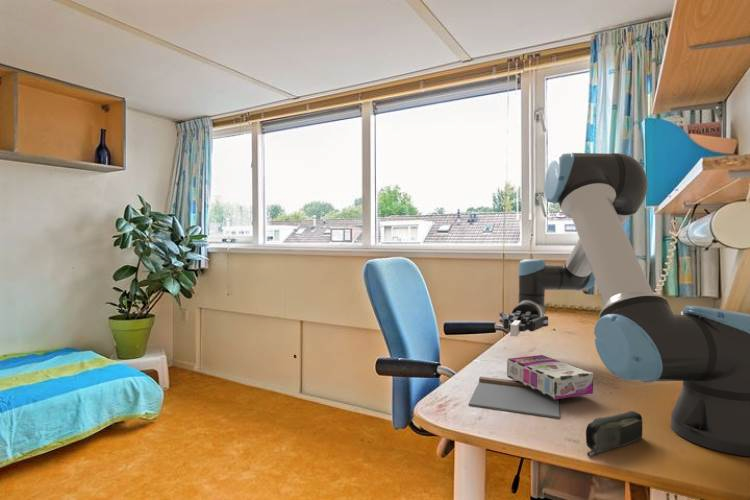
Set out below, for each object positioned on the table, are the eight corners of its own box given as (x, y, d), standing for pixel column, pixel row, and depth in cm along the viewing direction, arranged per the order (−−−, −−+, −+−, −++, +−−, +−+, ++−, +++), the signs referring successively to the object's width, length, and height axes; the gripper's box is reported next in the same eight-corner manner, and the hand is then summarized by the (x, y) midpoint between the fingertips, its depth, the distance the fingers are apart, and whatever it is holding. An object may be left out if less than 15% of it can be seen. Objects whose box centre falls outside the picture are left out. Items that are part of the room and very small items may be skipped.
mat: (559, 418, 84) (559, 416, 84) (468, 405, 91) (468, 403, 91) (557, 393, 98) (557, 391, 98) (479, 383, 105) (479, 381, 105)
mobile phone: (629, 407, 78) (577, 422, 71) (646, 413, 76) (594, 429, 69) (628, 434, 79) (577, 451, 71) (645, 440, 76) (593, 459, 69)
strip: (557, 393, 99) (557, 387, 99) (479, 383, 105) (479, 378, 105) (557, 390, 100) (557, 385, 100) (480, 381, 107) (480, 376, 107)
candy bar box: (506, 378, 106) (554, 400, 90) (506, 358, 106) (554, 377, 90) (542, 373, 110) (594, 394, 94) (542, 354, 110) (594, 372, 94)
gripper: (551, 330, 119) (542, 349, 98) (503, 325, 125) (486, 343, 104) (551, 303, 119) (543, 317, 98) (503, 300, 125) (486, 312, 104)
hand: (513, 330), depth 101 cm, fingers closed
